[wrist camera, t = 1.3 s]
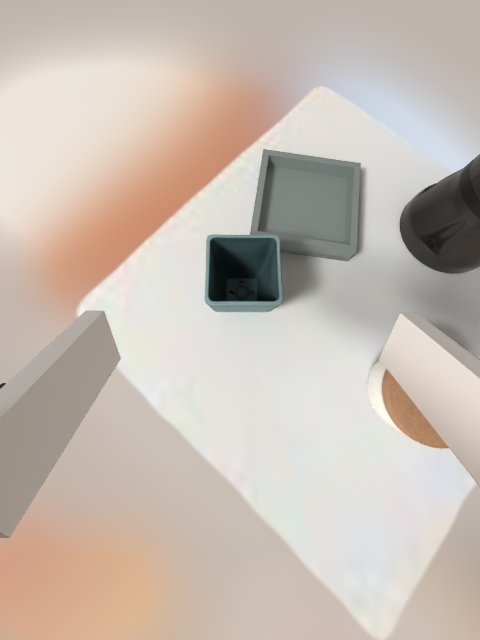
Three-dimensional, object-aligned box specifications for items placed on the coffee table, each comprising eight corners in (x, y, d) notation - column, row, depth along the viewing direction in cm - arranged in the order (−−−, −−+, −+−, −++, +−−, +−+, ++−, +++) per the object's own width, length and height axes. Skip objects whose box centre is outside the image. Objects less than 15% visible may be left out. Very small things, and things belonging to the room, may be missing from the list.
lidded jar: (343, 413, 32) (387, 431, 22) (361, 341, 34) (408, 331, 25) (418, 441, 31) (495, 472, 22) (431, 366, 33) (506, 365, 24)
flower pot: (213, 266, 36) (206, 233, 27) (268, 266, 36) (279, 234, 27) (212, 321, 34) (204, 304, 25) (270, 321, 34) (283, 304, 25)
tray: (351, 178, 40) (360, 163, 37) (346, 261, 37) (356, 251, 34) (261, 165, 40) (263, 149, 37) (248, 246, 37) (249, 235, 34)
